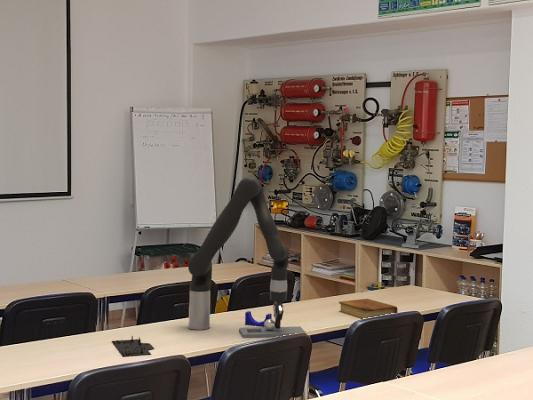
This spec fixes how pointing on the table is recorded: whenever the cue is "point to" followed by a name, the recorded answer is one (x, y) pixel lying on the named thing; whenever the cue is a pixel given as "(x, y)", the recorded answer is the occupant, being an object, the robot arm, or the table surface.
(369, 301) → the diary
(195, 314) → the robot arm
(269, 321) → the steel ball
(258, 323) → the cable clip
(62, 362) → the table surface
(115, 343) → the circuit board
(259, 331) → the pocket slab
